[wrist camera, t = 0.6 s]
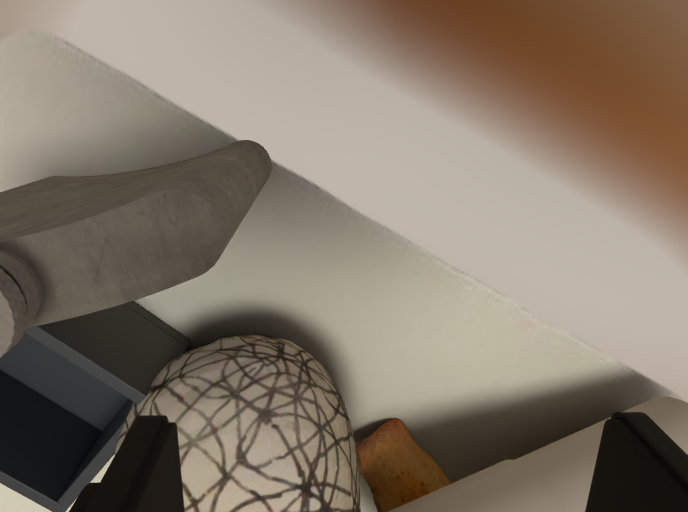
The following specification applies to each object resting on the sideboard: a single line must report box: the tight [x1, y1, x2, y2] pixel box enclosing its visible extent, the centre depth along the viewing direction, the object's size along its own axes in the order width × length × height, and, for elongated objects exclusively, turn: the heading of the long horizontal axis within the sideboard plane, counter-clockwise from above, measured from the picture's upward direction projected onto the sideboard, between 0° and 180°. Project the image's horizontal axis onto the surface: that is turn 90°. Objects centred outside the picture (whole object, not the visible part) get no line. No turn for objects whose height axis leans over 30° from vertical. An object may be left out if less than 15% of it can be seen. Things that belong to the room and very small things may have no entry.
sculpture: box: [115, 334, 361, 512], centre depth 32 cm, size 15×20×15 cm
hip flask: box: [0, 140, 271, 358], centre depth 24 cm, size 16×4×20 cm, turn 100°
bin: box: [0, 301, 190, 512], centre depth 33 cm, size 11×11×8 cm
